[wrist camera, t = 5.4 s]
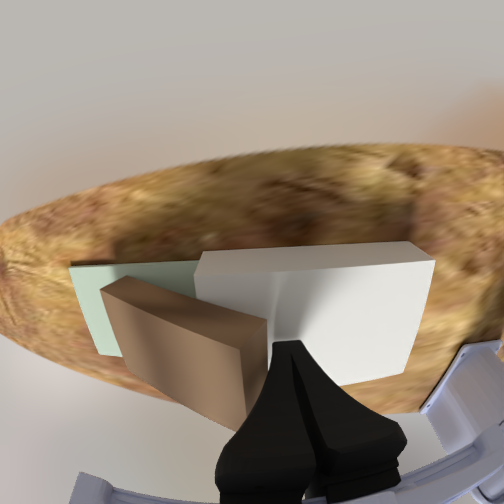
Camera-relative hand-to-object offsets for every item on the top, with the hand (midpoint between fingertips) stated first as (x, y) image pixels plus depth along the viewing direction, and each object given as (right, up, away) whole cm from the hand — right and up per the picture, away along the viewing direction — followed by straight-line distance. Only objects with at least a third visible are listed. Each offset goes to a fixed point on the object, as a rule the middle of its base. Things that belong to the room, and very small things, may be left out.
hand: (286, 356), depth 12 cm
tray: (+2, +2, +4) cm, 5 cm away
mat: (-9, +1, +4) cm, 9 cm away
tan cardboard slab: (-5, 0, +1) cm, 5 cm away
